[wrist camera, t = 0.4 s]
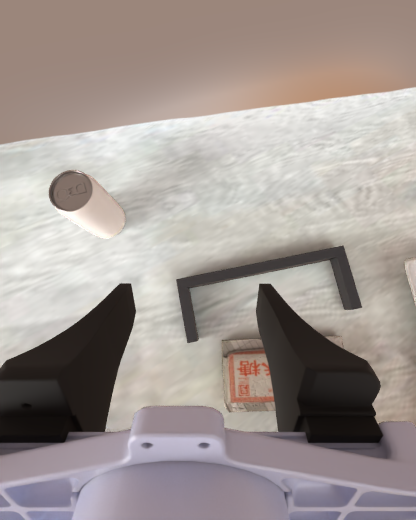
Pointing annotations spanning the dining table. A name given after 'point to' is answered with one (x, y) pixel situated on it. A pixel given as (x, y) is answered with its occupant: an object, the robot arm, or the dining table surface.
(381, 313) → the dining table surface
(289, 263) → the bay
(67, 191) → the can
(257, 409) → the packaged product
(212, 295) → the dining table surface
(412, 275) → the square plate
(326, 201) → the dining table surface
